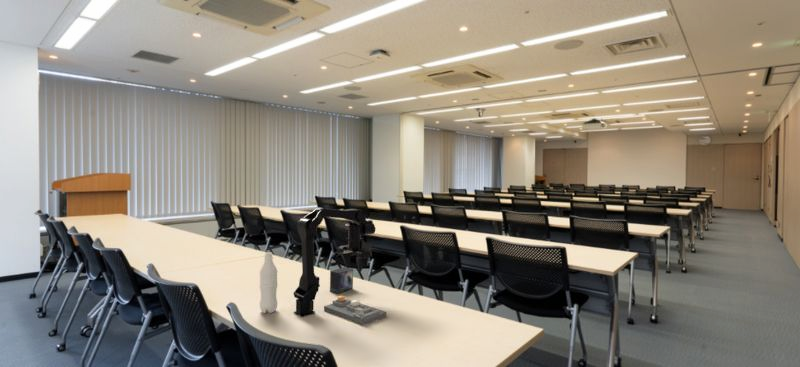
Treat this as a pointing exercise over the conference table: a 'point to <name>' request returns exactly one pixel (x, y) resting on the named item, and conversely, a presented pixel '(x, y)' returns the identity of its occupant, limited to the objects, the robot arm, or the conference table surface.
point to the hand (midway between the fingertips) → (354, 269)
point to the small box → (341, 280)
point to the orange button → (341, 299)
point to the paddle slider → (359, 312)
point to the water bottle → (268, 285)
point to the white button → (355, 303)
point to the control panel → (349, 312)
